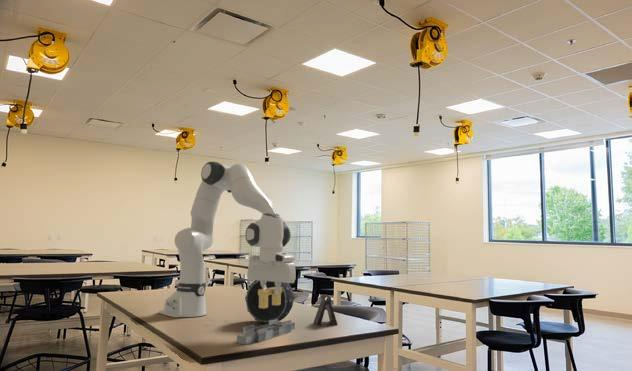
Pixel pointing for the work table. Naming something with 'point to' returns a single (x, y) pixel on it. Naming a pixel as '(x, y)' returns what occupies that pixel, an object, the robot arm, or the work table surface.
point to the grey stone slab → (264, 331)
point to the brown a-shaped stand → (322, 308)
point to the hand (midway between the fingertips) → (270, 293)
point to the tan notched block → (264, 297)
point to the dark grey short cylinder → (269, 302)
